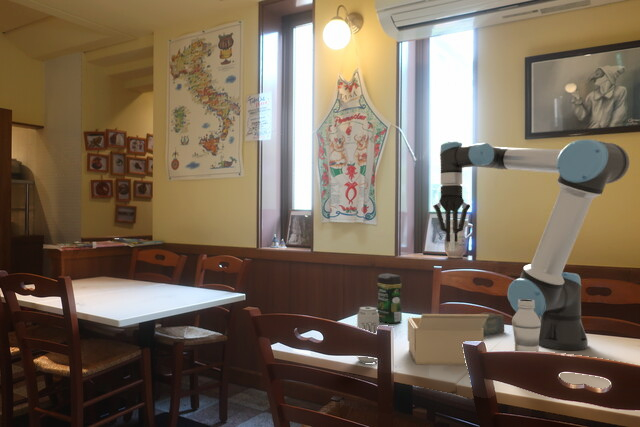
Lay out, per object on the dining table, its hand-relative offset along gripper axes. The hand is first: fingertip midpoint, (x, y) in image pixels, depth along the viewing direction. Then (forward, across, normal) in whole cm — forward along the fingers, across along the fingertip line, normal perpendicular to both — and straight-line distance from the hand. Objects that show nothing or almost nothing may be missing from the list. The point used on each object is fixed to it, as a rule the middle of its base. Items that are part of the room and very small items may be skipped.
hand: (451, 250), depth 172 cm
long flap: (+16, +10, +45) cm, 48 cm away
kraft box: (+28, +10, +34) cm, 45 cm away
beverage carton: (+29, -8, +4) cm, 30 cm away
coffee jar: (+29, +21, -14) cm, 38 cm away
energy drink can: (+29, +32, +39) cm, 58 cm away
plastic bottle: (+29, -6, +54) cm, 61 cm away
